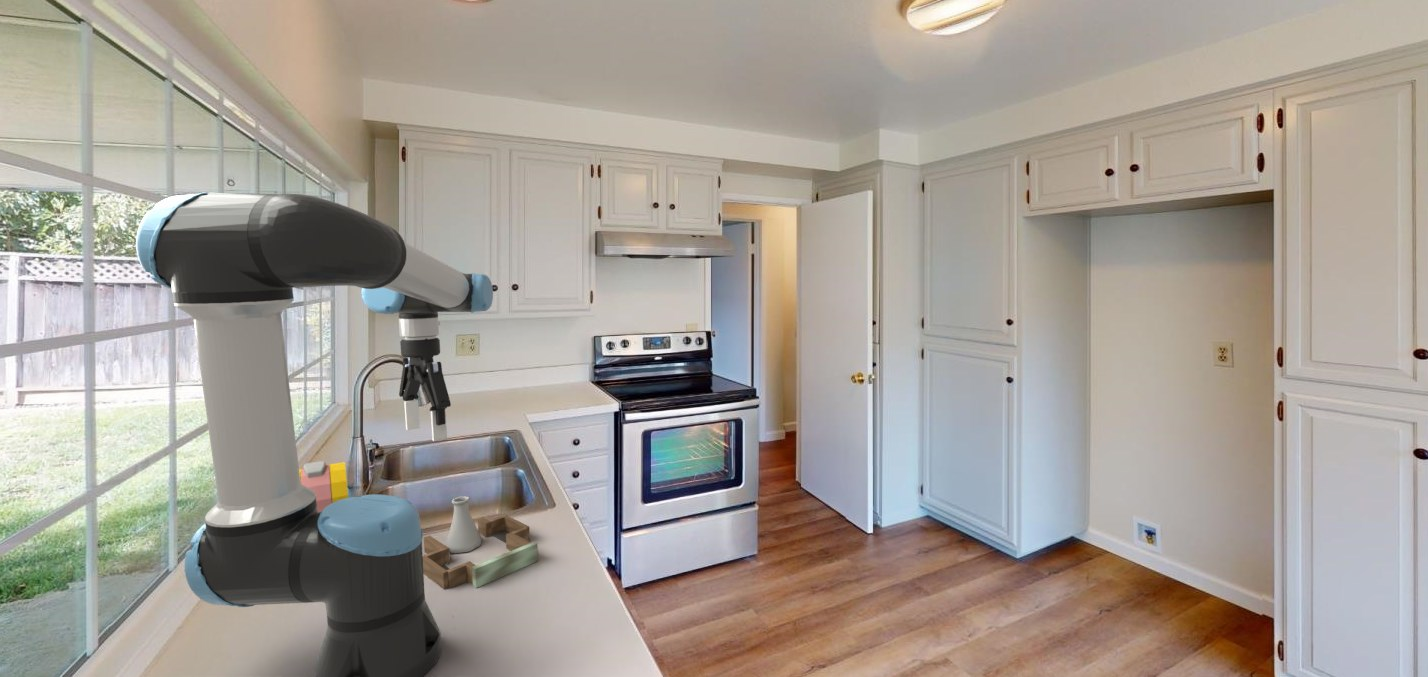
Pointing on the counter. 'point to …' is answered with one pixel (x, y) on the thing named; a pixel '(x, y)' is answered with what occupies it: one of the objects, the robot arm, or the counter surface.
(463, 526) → the flask
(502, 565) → the box
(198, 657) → the counter surface
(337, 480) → the alarm clock
